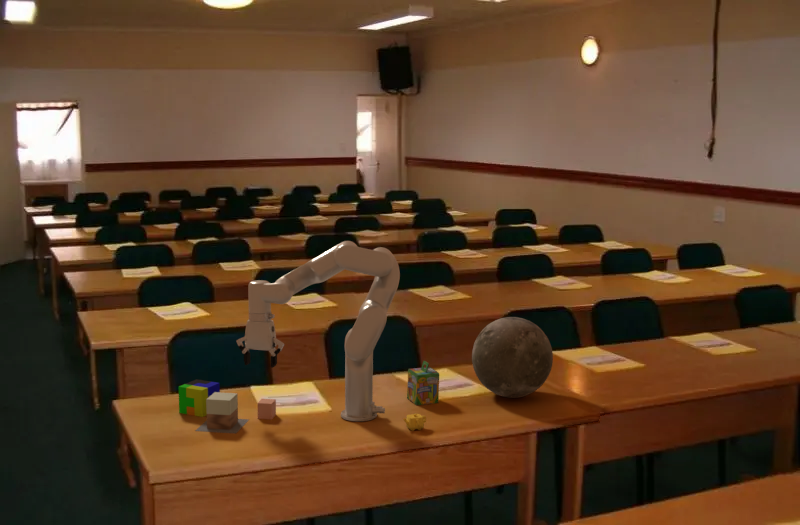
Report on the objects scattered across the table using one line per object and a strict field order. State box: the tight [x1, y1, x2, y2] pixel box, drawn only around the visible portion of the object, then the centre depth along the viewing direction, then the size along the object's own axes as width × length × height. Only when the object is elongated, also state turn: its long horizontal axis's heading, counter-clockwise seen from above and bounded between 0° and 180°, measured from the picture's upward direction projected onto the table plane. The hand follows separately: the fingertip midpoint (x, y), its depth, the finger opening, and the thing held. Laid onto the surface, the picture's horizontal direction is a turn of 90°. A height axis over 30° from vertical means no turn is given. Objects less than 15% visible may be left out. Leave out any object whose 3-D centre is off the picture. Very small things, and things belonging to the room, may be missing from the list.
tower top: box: [206, 391, 239, 415], centre depth 295 cm, size 8×8×5 cm
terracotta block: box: [257, 398, 277, 420], centre depth 305 cm, size 5×5×6 cm
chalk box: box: [406, 360, 440, 406], centre depth 324 cm, size 9×9×15 cm
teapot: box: [402, 413, 427, 432], centre depth 295 cm, size 8×6×5 cm
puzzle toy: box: [177, 378, 221, 418], centre depth 310 cm, size 10×10×10 cm
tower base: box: [206, 408, 239, 430], centre depth 296 cm, size 8×8×5 cm
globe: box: [471, 316, 554, 399], centre depth 330 cm, size 30×30×30 cm
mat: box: [194, 418, 250, 434], centre depth 296 cm, size 14×14×1 cm
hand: (260, 365), depth 304 cm, fingers open, 9 cm apart
